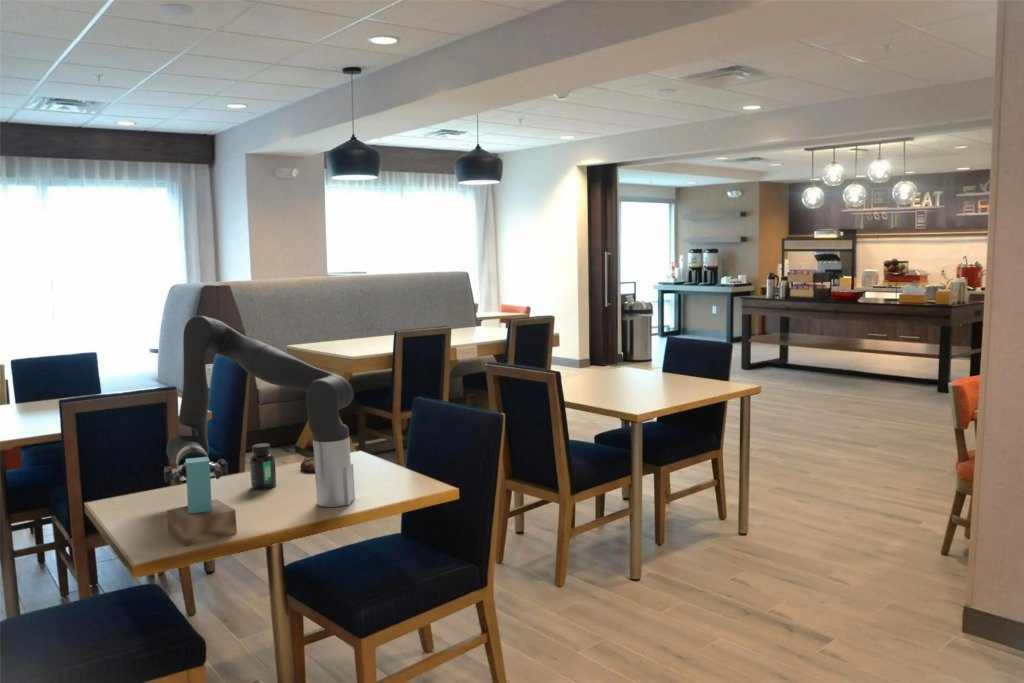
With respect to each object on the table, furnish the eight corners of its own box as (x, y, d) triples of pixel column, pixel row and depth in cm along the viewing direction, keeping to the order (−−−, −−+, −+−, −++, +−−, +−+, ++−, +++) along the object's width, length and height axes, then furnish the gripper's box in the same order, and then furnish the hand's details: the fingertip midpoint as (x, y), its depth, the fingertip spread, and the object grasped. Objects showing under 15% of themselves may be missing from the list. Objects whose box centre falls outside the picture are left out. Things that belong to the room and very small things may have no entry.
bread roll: (292, 472, 242) (293, 455, 242) (313, 467, 253) (314, 451, 253) (324, 476, 238) (325, 459, 238) (344, 471, 249) (345, 454, 249)
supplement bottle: (274, 489, 225) (271, 447, 224) (249, 490, 224) (246, 448, 223) (278, 482, 232) (275, 441, 230) (253, 484, 231) (251, 443, 230)
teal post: (210, 505, 194) (207, 456, 193) (211, 510, 189) (209, 460, 188) (187, 508, 191) (185, 458, 190) (188, 513, 187) (186, 463, 186)
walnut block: (218, 522, 199) (216, 499, 199) (237, 534, 190) (235, 510, 189) (168, 535, 192) (166, 510, 191) (185, 548, 182) (183, 522, 182)
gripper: (160, 451, 199) (164, 466, 184) (221, 443, 205) (229, 457, 190) (163, 481, 200) (166, 498, 185) (223, 472, 206) (231, 488, 191)
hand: (198, 477), depth 188 cm, fingers open, 8 cm apart
